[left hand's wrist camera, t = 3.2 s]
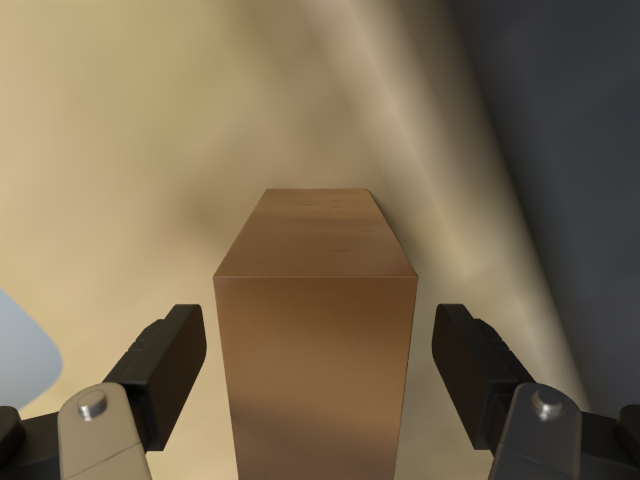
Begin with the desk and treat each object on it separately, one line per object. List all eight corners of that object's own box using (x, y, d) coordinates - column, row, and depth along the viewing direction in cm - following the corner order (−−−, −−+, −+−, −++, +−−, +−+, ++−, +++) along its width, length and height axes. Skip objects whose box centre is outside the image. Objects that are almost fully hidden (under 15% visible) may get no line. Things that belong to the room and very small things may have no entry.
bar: (266, 188, 16) (211, 276, 8) (368, 188, 16) (419, 275, 8) (284, 515, 25) (268, 715, 17) (350, 515, 25) (365, 714, 17)
